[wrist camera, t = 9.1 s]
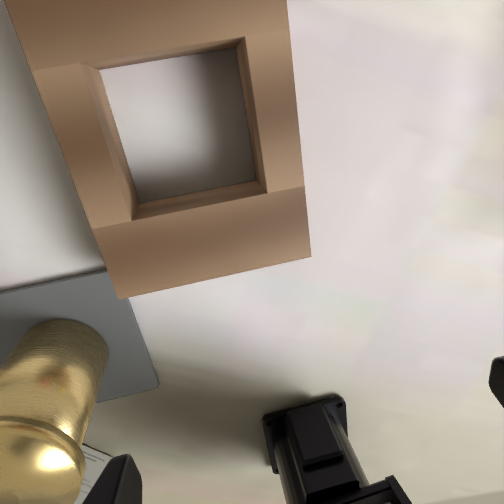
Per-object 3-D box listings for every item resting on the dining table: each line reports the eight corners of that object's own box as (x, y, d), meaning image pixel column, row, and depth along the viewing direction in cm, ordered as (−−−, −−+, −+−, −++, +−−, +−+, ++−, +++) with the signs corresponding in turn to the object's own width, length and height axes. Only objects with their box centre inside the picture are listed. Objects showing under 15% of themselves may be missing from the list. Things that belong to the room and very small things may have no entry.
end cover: (102, 303, 20) (51, 419, 13) (128, 380, 22) (98, 512, 15) (-9, 322, 19) (-126, 453, 12) (31, 398, 22) (-46, 544, 15)
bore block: (295, 236, 21) (311, 256, 18) (128, 272, 20) (118, 299, 17) (261, -61, 15) (276, -97, 12) (21, -28, 14) (-19, -59, 11)
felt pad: (159, 383, 23) (159, 387, 23) (22, 416, 23) (19, 422, 22) (116, 266, 20) (115, 269, 19) (-50, 302, 19) (-55, 306, 18)
